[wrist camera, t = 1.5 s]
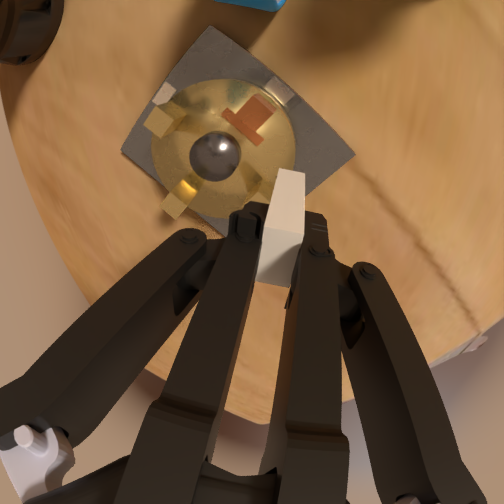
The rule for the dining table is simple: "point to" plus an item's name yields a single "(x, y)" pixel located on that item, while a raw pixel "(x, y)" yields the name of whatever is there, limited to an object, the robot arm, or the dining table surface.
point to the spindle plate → (255, 72)
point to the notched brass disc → (220, 147)
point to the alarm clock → (257, 4)
